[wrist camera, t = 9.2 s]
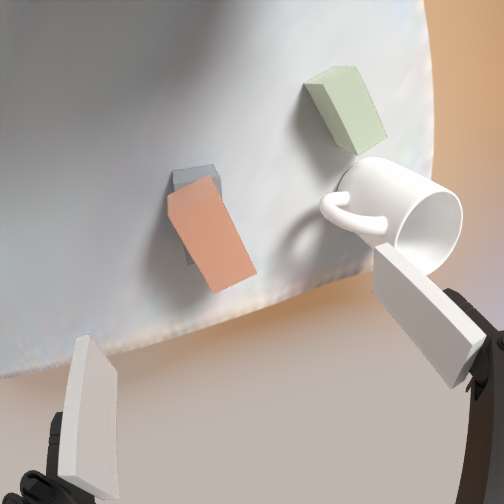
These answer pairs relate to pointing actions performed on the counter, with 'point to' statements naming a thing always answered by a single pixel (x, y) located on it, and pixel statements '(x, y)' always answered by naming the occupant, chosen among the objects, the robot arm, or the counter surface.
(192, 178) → the slate brick
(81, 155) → the counter surface
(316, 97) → the sage brick
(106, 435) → the robot arm
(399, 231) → the mug
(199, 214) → the terracotta brick
